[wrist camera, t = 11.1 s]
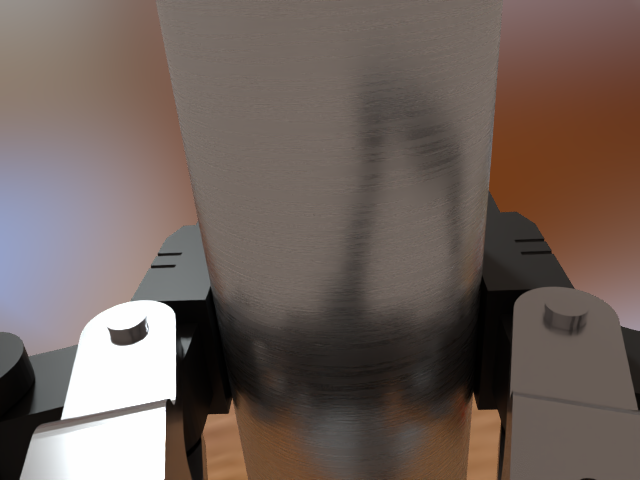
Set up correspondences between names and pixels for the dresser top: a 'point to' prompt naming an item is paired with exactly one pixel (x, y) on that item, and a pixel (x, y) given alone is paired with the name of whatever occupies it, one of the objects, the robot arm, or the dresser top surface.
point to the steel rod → (342, 221)
